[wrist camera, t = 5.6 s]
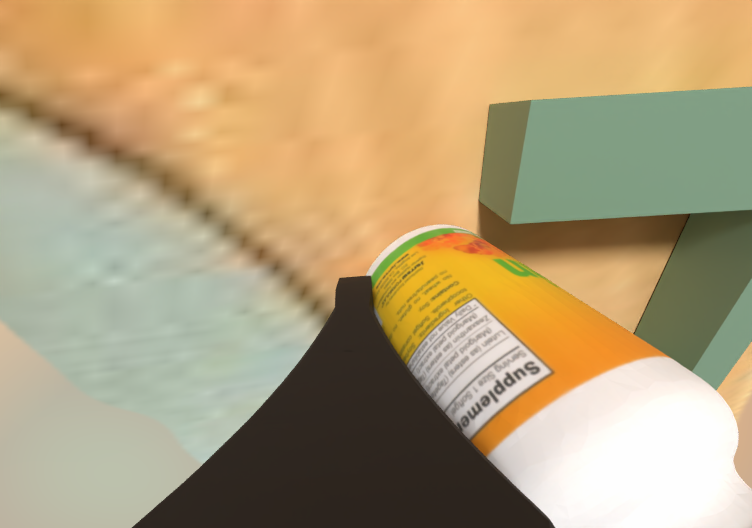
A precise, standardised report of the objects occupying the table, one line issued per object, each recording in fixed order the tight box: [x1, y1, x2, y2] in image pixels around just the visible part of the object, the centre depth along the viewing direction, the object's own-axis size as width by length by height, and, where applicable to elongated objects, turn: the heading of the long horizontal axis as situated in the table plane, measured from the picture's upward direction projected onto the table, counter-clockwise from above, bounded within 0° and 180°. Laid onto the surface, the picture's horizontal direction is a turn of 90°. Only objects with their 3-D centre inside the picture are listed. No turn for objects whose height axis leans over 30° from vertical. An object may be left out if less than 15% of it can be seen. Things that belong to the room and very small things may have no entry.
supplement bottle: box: [366, 225, 752, 528], centre depth 7 cm, size 5×5×10 cm
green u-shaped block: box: [479, 87, 752, 390], centre depth 11 cm, size 14×10×2 cm
